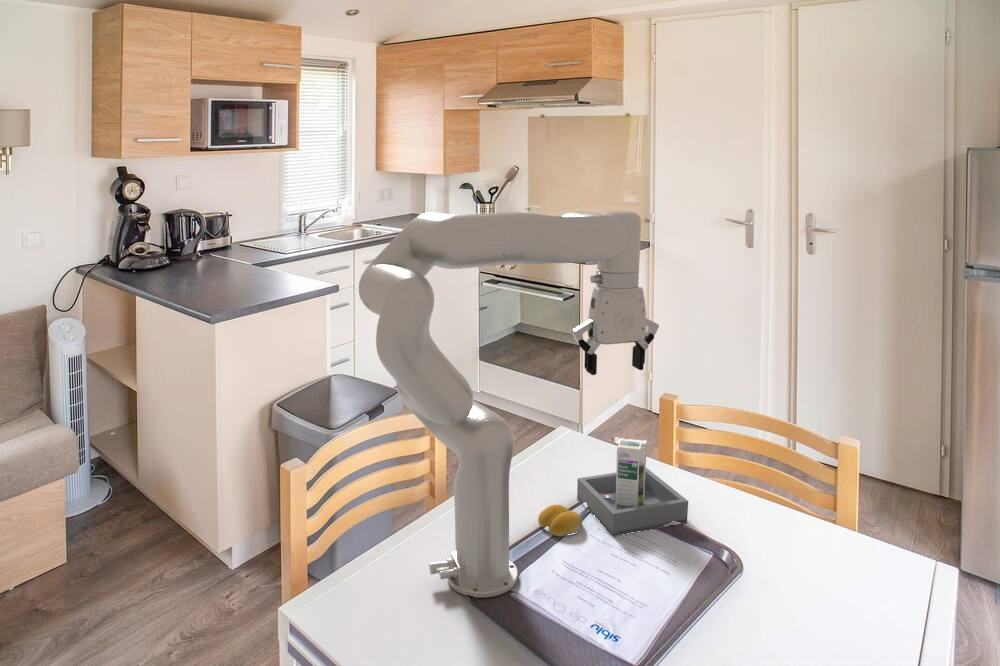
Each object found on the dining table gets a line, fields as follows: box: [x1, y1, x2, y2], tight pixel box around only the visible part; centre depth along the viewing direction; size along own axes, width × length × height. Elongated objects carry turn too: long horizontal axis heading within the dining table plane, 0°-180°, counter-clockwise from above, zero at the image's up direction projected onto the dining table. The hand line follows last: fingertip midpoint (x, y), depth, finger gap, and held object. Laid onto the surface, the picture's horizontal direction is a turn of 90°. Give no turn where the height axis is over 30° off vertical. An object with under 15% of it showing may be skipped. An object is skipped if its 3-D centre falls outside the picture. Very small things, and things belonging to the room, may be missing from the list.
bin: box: [576, 467, 689, 537], centre depth 151 cm, size 17×17×5 cm
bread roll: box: [537, 504, 583, 537], centre depth 145 cm, size 8×9×4 cm
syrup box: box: [615, 437, 648, 510], centre depth 149 cm, size 6×6×14 cm
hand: (614, 370), depth 133 cm, fingers open, 9 cm apart
